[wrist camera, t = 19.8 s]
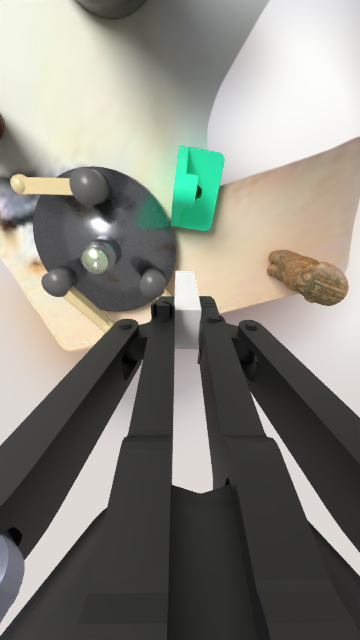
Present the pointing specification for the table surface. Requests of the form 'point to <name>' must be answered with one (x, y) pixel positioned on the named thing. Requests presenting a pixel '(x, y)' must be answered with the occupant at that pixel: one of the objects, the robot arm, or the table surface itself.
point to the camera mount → (191, 173)
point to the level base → (112, 221)
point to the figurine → (309, 277)
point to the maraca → (67, 186)
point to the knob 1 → (74, 295)
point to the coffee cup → (1, 128)
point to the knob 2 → (153, 283)
